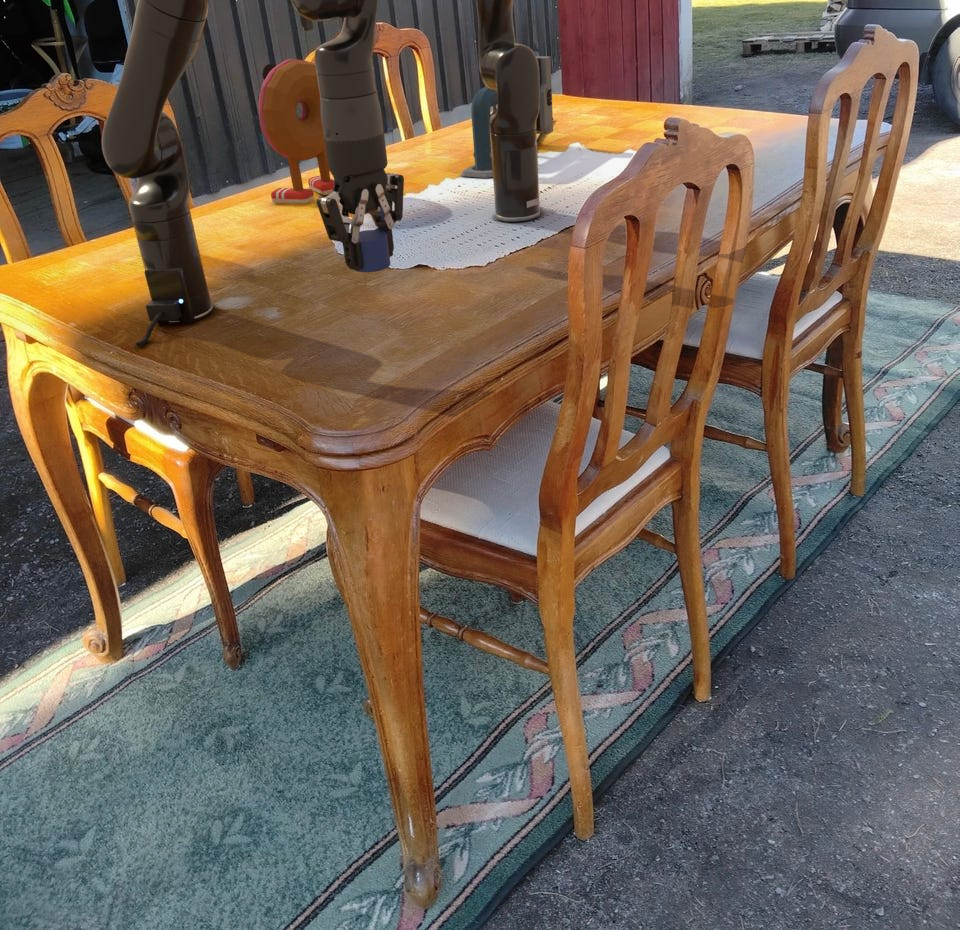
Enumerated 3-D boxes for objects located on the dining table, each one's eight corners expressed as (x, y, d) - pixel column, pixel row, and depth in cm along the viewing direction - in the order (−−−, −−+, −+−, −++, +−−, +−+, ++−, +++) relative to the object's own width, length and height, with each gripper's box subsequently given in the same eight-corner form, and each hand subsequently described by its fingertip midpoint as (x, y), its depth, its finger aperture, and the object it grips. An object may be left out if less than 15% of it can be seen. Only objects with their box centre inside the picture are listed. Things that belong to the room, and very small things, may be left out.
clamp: (490, 178, 228) (484, 82, 217) (458, 176, 232) (450, 81, 221) (553, 143, 254) (550, 56, 243) (523, 142, 258) (519, 56, 247)
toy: (329, 182, 236) (308, 50, 220) (358, 186, 230) (339, 51, 215) (260, 205, 222) (234, 66, 207) (289, 210, 216) (264, 67, 201)
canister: (359, 259, 132) (355, 229, 130) (395, 259, 131) (391, 229, 129) (347, 272, 128) (342, 241, 126) (383, 272, 127) (380, 241, 125)
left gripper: (332, 147, 114) (352, 284, 123) (414, 121, 123) (427, 251, 132) (290, 141, 118) (312, 274, 127) (372, 117, 127) (388, 243, 136)
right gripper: (269, -65, 173) (285, 33, 181) (338, -70, 168) (351, 31, 176) (292, -68, 179) (306, 27, 187) (359, -73, 174) (371, 25, 182)
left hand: (371, 262), depth 129 cm, fingers closed on canister, 5 cm apart
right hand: (328, 29), depth 182 cm, fingers open, 8 cm apart
